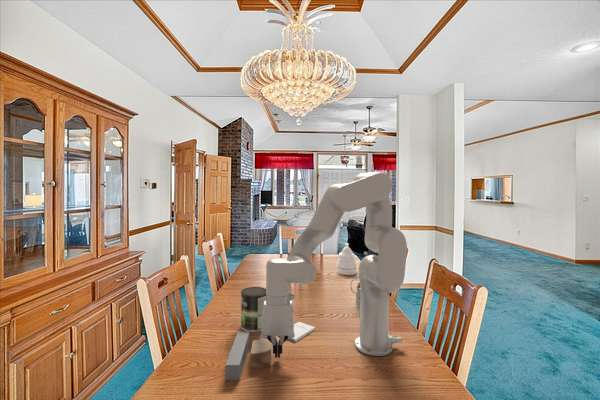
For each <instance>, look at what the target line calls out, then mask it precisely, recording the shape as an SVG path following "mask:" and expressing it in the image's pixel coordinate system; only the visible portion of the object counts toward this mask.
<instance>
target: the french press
mask: <svg viewBox="0 0 600 400" xmlns="http://www.w3.org/2000/svg"><path fill="white" fill-rule="evenodd" d="M363 255H365V256H364V257H366V256H368V255H369V253H368V252H367V251H363ZM356 278H357V279H358V278H359V273H356V277H354V278H353V279H351V281H350V285H352V283H353V281H355V280H356ZM350 290H351V292H352V293H353V294H355V295H356V296H355V302H354V303H353V304H354V306H355V307H356V308H359V309H360V295H361V292H360V281H359V282H358V283H357V286H356V291H354V290H353V287H350Z"/></svg>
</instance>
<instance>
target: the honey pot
mask: <svg viewBox="0 0 600 400" xmlns="http://www.w3.org/2000/svg"><path fill="white" fill-rule="evenodd" d="M344 245H345V246H344V247H343V249H342V250H341V252H339V253H338V255H339V257H338V258H337V262H336V273H337V274H340V275H344V276H345V275H346V276H347V275H348V276H353V275H357V274H358V273H357V270H358V269H357V268H358V267H357V266H358V264H357V262H356V258H355V253H353V251H352V249H351V248H350V246H349V245H350V243H345V242H344Z"/></svg>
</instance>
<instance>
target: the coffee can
mask: <svg viewBox="0 0 600 400" xmlns="http://www.w3.org/2000/svg"><path fill="white" fill-rule="evenodd" d="M240 293H241V295H240V296H241V299H240V303H241V305H240V306H241V307H240V308H241V309H240V310H241V311H240V312H241V313H240V314H241V315H240V317H241V320H240V328H241V330H242V331H243V332H249V333H258V332H262V330H261V326H262V311H263V304H264V301H266V287H262V286H249V287H245V288H243V289H241V290H240Z"/></svg>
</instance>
